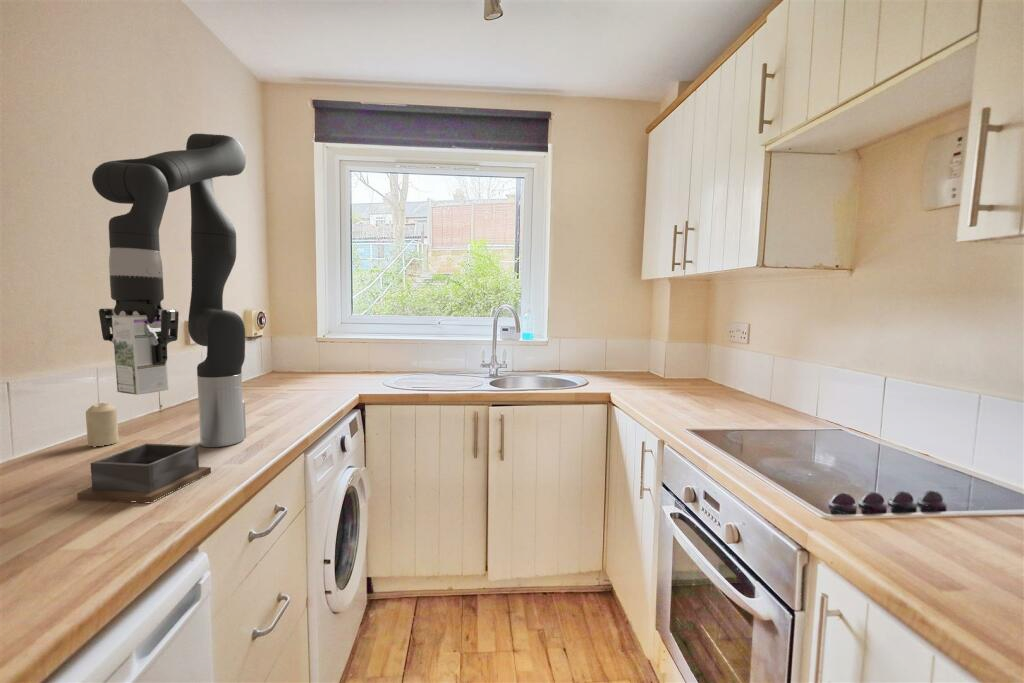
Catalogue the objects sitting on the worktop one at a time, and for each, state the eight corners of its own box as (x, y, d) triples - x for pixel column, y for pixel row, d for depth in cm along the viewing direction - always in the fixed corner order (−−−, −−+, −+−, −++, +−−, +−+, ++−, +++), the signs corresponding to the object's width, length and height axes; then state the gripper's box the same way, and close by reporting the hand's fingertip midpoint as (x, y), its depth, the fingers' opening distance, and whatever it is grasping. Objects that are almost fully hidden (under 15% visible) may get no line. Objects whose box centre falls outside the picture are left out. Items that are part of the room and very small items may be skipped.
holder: (147, 469, 92) (146, 441, 92) (210, 472, 91) (209, 443, 91) (77, 499, 78) (75, 465, 78) (150, 503, 77) (149, 469, 77)
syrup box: (170, 389, 85) (166, 314, 84) (135, 395, 80) (130, 315, 78) (150, 387, 87) (146, 314, 86) (115, 392, 81) (110, 314, 80)
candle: (122, 443, 109) (119, 403, 108) (92, 449, 104) (89, 407, 103) (114, 439, 112) (111, 400, 111) (84, 444, 107) (82, 404, 106)
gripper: (189, 276, 85) (193, 362, 86) (120, 275, 86) (125, 360, 87) (155, 274, 77) (160, 368, 79) (79, 273, 78) (86, 366, 80)
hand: (141, 364), depth 83 cm, fingers closed on syrup box, 6 cm apart
